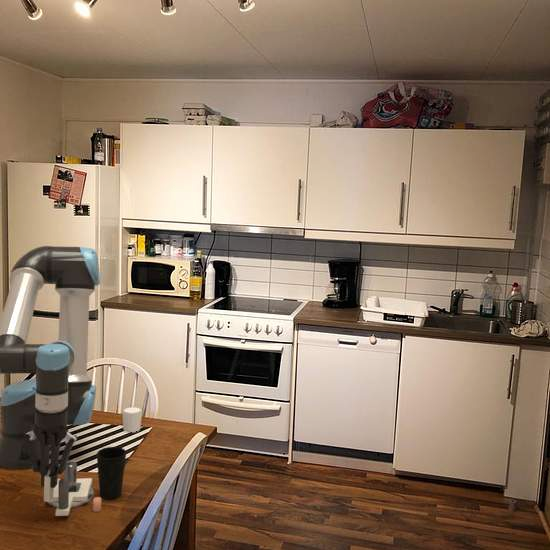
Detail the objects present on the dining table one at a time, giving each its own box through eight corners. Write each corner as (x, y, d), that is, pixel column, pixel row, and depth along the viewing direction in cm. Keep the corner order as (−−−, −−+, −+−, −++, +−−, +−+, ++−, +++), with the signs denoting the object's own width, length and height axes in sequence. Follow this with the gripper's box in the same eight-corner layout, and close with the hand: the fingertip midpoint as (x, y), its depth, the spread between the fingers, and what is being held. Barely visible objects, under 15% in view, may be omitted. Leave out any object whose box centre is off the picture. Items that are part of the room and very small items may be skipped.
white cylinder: (146, 428, 209) (146, 409, 208) (131, 434, 203) (132, 415, 202) (132, 423, 212) (132, 404, 211) (117, 429, 206) (117, 410, 205)
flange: (54, 483, 165) (54, 454, 164) (92, 482, 166) (92, 454, 165) (40, 516, 148) (40, 485, 147) (82, 515, 150) (83, 484, 149)
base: (36, 502, 157) (36, 469, 156) (65, 482, 168) (65, 451, 167) (75, 511, 154) (76, 478, 152) (102, 490, 165) (102, 459, 164)
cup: (109, 504, 158) (110, 461, 156) (89, 495, 162) (90, 453, 160) (131, 493, 164) (132, 451, 163) (111, 485, 168) (112, 444, 167)
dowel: (91, 510, 154) (91, 499, 154) (95, 507, 156) (96, 496, 156) (98, 512, 154) (98, 501, 153) (102, 508, 156) (102, 497, 155)
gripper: (18, 410, 144) (16, 503, 146) (71, 415, 143) (68, 508, 146) (32, 400, 151) (30, 489, 154) (82, 405, 151) (79, 494, 153)
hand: (48, 498), depth 150 cm, fingers closed
